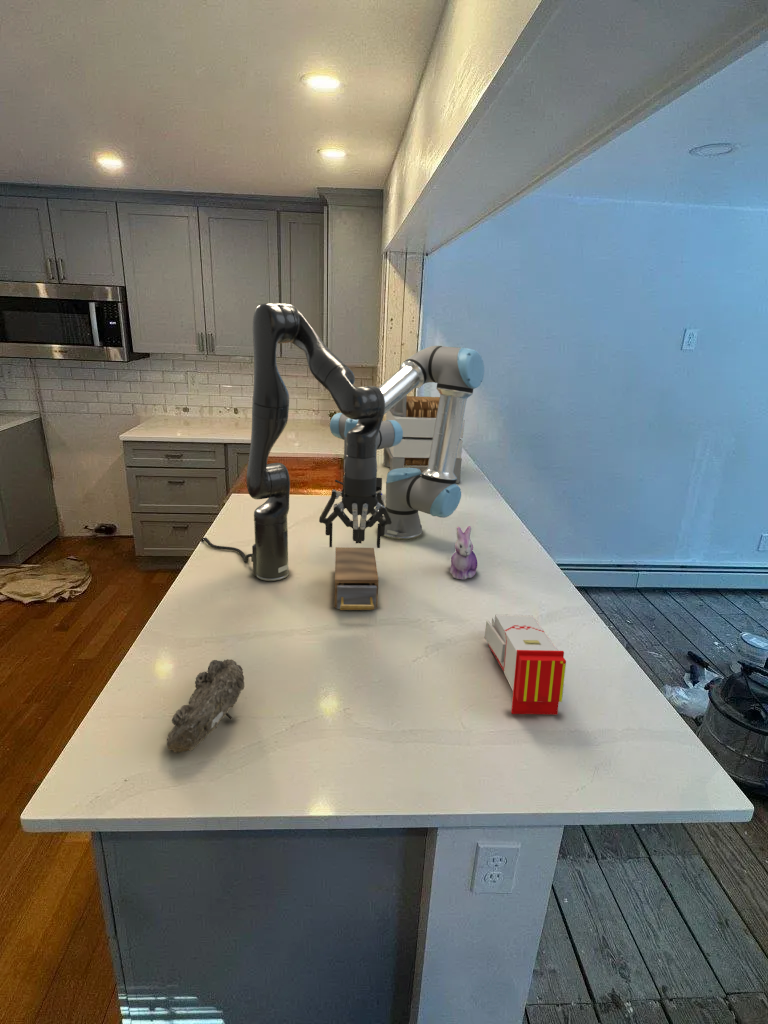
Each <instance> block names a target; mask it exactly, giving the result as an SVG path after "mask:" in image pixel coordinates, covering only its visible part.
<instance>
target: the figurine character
mask: <svg viewBox="0 0 768 1024" xmlns="http://www.w3.org/2000/svg"><path fill="white" fill-rule="evenodd" d="M378 490H379V491H380V492H381V496H383V492H382V491H383V478H382V477H377V480H376V492H377V491H378Z"/></svg>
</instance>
